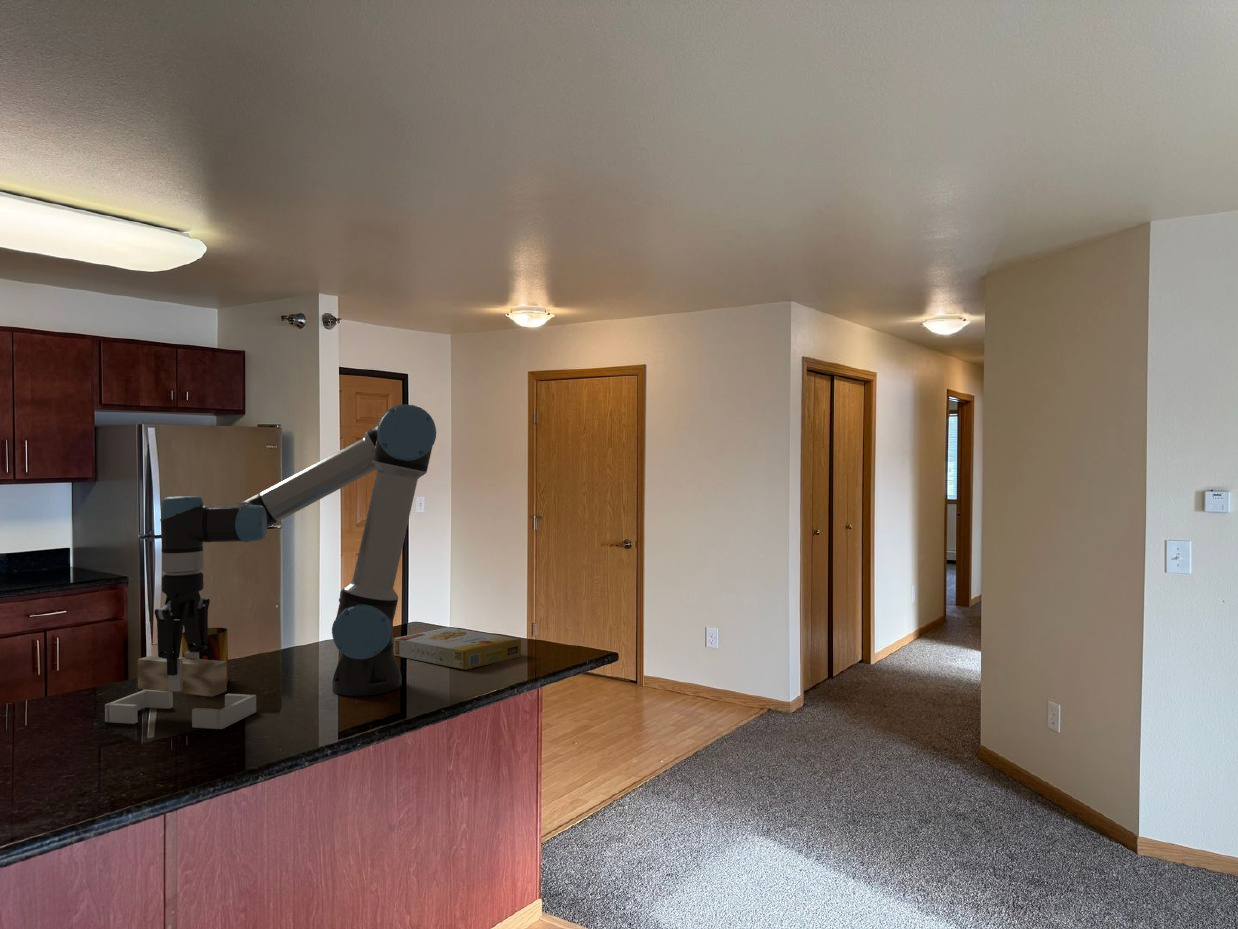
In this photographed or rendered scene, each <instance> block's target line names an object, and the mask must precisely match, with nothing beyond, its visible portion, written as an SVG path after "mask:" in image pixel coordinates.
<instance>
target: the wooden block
mask: <svg viewBox="0 0 1238 929" xmlns="http://www.w3.org/2000/svg"><path fill="white" fill-rule="evenodd" d="M179 658H183V690H182V691H168V675H167V660H166V659H163V658H159V657H158V654H151V655H148V656H145V657H141V658H137V689H138V690H139V689H140V690H145V689H147V690H156V691H165V692H173V693H174V694H175V693H177V694H186V695H195V696H203V697H204V696H205V697H215V696H217V695H220V694H222V693H225V692H227V690H228V689H227V688H228V687H227V684H228V681H227V662H226V661H215V660H205V659H194V658H184V657H182V656H179Z"/></svg>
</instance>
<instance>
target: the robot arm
mask: <svg viewBox="0 0 1238 929" xmlns="http://www.w3.org/2000/svg"><path fill="white" fill-rule="evenodd" d="M436 439H437V427H436V424H435V421H434V419H433V418H432V416H431V415H430V414H429V412H427V411H426V410H425V409H423V408H422V407H420V406H417V405H413V404H399V405H395V406H393V407H391V408H390V409H388V410H387V411H386V412H385V413H384V414H383V415H382V416H381V419H380V420H379V421H378V424H377V425H376V426H374V427H373V428H371V429H368V430H367V431H365V433H364V436H363V437H362V438H360V439H359V440H357V441H356V442H354V443H352V444H349V445H348V446H345V447H344V448H343V449H340V450H338V451H337V452H335V453H333V454H331V455H329V456H327V457H325V458H324V459H321V460H319V461H317V462H316V463H314V464H312V465H310V466H308V467H306V468H304V469H302V470H300V471H299V472H297V473H294V474H293V475H291V476H288V477H287V478H285V479H284V480H282V481H280V482H277V483H276V484H273V485H272V486H270V487H268V488H267V489H265V490H263V491H260V492H259V493H256V494H255V495H253V496H250V497H249V498H247V499H244V500H243V501H241V502H240V503H237V504H230V505H229V504H228V505H227V504H226V505H224V504H223V505H207V504H204V501H203V498H202V497H201V496H198V495H181V496H167V497H165V498H164V499H163V500H162V501H161V513H160V520H159V522H160V533H161V534H160V535H161V537H160V538H161V571H162V572H163V573H164V574H163V575H162V576H161V592H162V593H163V594H165V595H166V598H165V600H164V605H163V606H162V607H161V608H155V610H154V612H153V613H154V617H155V619H156V632H157V633H156V634H157V638H156V639H157V655H158V657H159V658H163V659H166V660H167V675H168V691H182V690H183V658H179V657H180V655H181V654H180V653H181V649H182V633H183V632H185V636H186V641H187V647H188V651H190V652H185V658H194V659H200V651H204V650H205V647H203V646H207V644H208V628H209V627H208V626H209V624H208V623H209V622H208V621H209V620H208V618H209V614H208V613H209V607H210V602H211V599H210V598H204V597H201V595H200V592H201V591H202V590H203V589H204V573H203V572H202V571H203V569H205V568H204V566H205V565H204V543H228V542H231V543H233V542H235V543H236V542H244V543H248V542H249V543H250V542H256V541H258V542H259V541H262V540H264V539H265V537H266V534H267V529H268V528H269V527H271V526H273V525H275V524H276V523H278V522H280V521H282V520H284V519H285V518H288V517H290V516H292V515H293V514H295V513H298V512H299V511H300V510H302V509H305V508H306V507H308V506H310V505H312V504H314V503H316V502H318V501H319V500H321V499H323V498H325V497H327V496H329V495H332V493H335V492H337V491H338V490H340V489H343V488H344V487H346V486H348V485H350V484H351V483H354V482H355V481H357V480H359V479H361V478H363V477H365V476H367V475H368V474H370V473H372V472H374V471H376V475H375V479H374V484H373V489H372V493H371V497H370V501H369V505H368V509H367V514H366V519H365V523H364V529H363V533H362V536H361V540H360V546H359V549H358V550H359V551H358V554H357V557H356V563H355V568H354V572H353V578H352V580H351V581H350V582H349V583H348V584H346V585H345V586H344V587H343V588H342V589H341V590H340V592H339V598H338V602H339V604H338V608H337V612H336V613H337V614H336V618H335V619H334V621H333V624H332V625H331V626H332V627H331V634H332V640H333V642H334V645H335V647H336V648H337V649H338V651H339V658H338V662H337V664H336V668H335V671H334V673H333V674H334V675H333V678H332V681H331V682H332V683H331V684H332V685H331V686H332V688H331V689H332V690H331V691H332V692H334V693H335V694H338V695H340V696H342V695H343V696H347V697H349V696H350V697H365V696H366V697H367V696H376V695H381V694H386V693H389V692H392V691H395V690H397V689H399V688H400V687H401V686H402V672H401V671H400V666H399V664H398V661H397V658H396V656H395V655H394V619H395V615H396V611H397V607H398V602H399V596H398V594H397V593H396V591H395V588H394V586H395V581H396V576H397V573H398V569H399V564H400V560H401V554H402V551H403V546H404V543H405V536H406V533H407V529H408V524H409V519H410V515H411V510H412V506H413V502H414V497H415V493H416V488H417V484H418V481H419V479H420V478H421V477H423V476H424V475H426V474H427V472H428V468H429V464H430V460H431V454H432V450H433V446H434V445H435V442H436ZM201 639H202V640H201Z"/></svg>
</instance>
